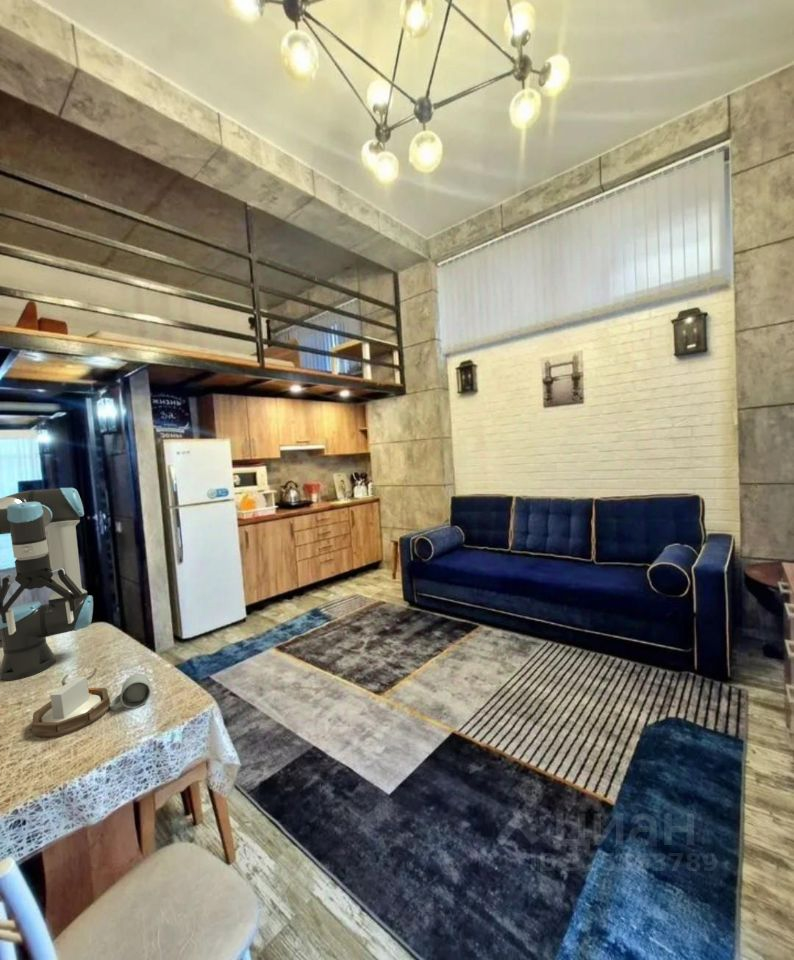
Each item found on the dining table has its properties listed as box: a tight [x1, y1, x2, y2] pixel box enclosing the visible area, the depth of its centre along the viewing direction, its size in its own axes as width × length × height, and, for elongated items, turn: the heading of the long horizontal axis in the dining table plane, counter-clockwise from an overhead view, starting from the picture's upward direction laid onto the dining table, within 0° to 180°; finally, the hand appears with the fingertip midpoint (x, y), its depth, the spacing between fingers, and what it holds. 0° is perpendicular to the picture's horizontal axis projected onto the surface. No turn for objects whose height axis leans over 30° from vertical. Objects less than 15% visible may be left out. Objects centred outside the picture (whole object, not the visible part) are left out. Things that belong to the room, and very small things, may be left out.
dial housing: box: [31, 687, 111, 739], centre depth 122 cm, size 18×18×4 cm
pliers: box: [61, 667, 98, 686], centre depth 141 cm, size 10×1×20 cm
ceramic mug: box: [109, 673, 151, 711], centre depth 128 cm, size 11×8×8 cm
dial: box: [42, 676, 101, 722], centre depth 122 cm, size 14×14×8 cm
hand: (42, 627), depth 123 cm, fingers open, 13 cm apart
